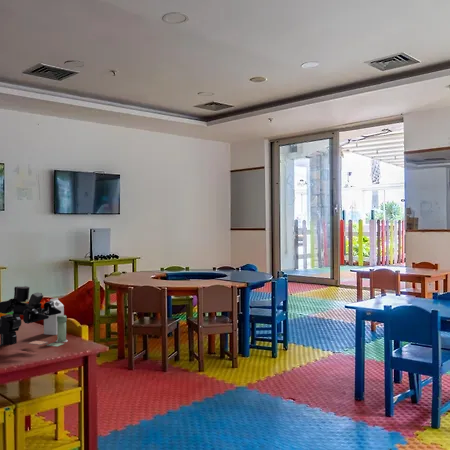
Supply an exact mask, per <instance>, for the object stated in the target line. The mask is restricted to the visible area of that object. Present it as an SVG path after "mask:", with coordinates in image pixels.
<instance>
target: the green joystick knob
mask: <svg viewBox="0 0 450 450" xmlns="http://www.w3.org/2000/svg"><path fill="white" fill-rule="evenodd" d="M67 321H68V320H67V315H66V314H64V315H61V316H57V335H56V337H57V340H56V341H57V342H56V343H58V342H62V343H66V342H65V341H66V340H67Z"/></svg>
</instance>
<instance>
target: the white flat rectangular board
mask: <svg viewBox="0 0 450 450" xmlns="http://www.w3.org/2000/svg"><path fill="white" fill-rule="evenodd" d="M67 342H68V339H66V341H65V342H57V340H55V342H54V341H53V342H51V343H49V341H43V340H42V341H41V340H33V341H30V342H27V344H29V345H38V346H39V345H44V344H45V345H46V346H48V347H56V348H57V347H58V348H59V347H60V346H63V345H65V343H67Z"/></svg>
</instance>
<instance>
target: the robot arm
mask: <svg viewBox="0 0 450 450" xmlns="http://www.w3.org/2000/svg"><path fill="white" fill-rule="evenodd" d="M30 287H31V286H26V285H25V286H18V285H17V286H14V288H13V289H14V290H13V291H14V292H13V293H14V294H13V295H14V296H13V298H10V299H8V300H4V301H0V314H4V315H1V316H0V347H2V346H7V345H8V346H9V345H16V344H17V343H18V342H17V340H18V337H17V336H18V335H17V332H18V331H19V329H20V327H21V326H22V321H23V323H24V324H32V323H36V322H39V321H42V320H43V321H44V319H48V318H49V316H51V315H55V314H60V313H61V311H60V310H59V309H57V308H55V307H54V302H53V301H50V300H49V301H47V302H44V304H43V308H42V303H41V301H42V300H43V298H44V294H43V292H34V293H32V294H31V295H30ZM29 296H30V298H29ZM27 301H28V303H27ZM10 313H11V314H10ZM48 315H49V316H48ZM21 316H23V317H22V318H23V319H21V318H20V317H21Z"/></svg>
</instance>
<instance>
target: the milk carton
mask: <svg viewBox="0 0 450 450" xmlns="http://www.w3.org/2000/svg"><path fill="white" fill-rule="evenodd" d="M49 301H53V302H54V307H55V308H57V309H59V310H60V311H61V313H60V314H55V315H51V316H49V315H48V316H49V318H48V319H44V320H43V335H48V336H49V335H50V336H57V316H61V315H65V308H64V307H65V305H64V304H63V303H62V302H61V301H60V300H59V297H54V298H51V299H49Z"/></svg>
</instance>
